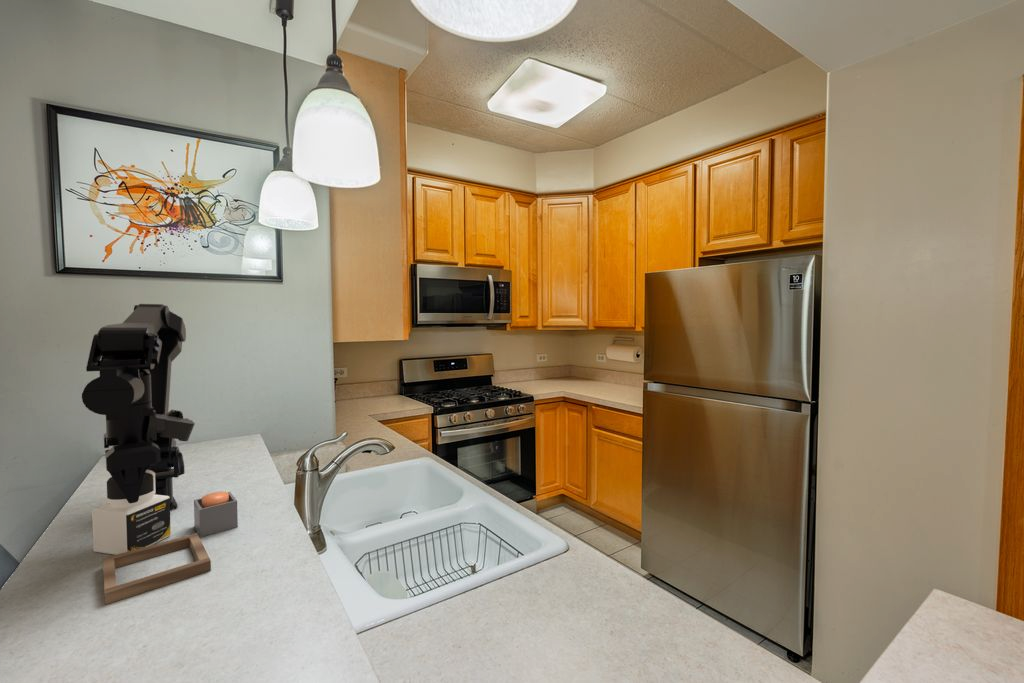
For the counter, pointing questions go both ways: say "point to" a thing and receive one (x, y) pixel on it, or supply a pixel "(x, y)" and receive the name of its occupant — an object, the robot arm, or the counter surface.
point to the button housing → (215, 517)
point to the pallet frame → (154, 580)
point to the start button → (215, 499)
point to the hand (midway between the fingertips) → (132, 496)
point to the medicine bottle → (131, 519)
